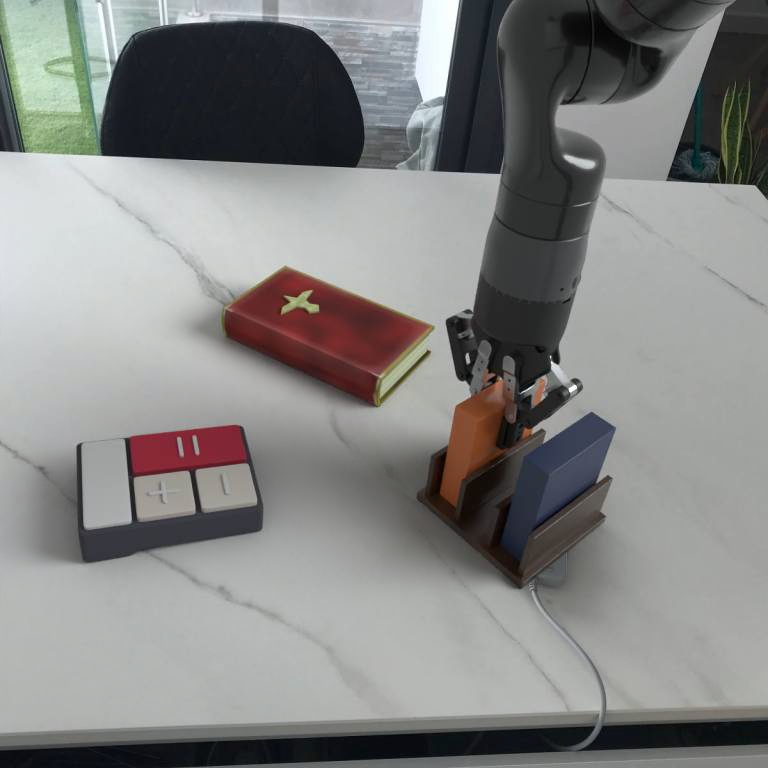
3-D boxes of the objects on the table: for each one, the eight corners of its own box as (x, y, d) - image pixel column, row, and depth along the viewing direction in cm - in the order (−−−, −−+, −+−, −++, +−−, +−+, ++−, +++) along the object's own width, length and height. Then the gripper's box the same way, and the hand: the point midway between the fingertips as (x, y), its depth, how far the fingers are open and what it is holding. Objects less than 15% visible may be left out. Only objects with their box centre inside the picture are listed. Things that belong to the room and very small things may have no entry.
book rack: (604, 521, 72) (621, 479, 69) (521, 589, 66) (535, 545, 62) (500, 444, 79) (511, 401, 76) (416, 498, 73) (423, 454, 69)
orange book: (522, 467, 76) (546, 381, 69) (459, 510, 71) (477, 422, 64) (502, 452, 77) (524, 366, 70) (439, 494, 72) (455, 405, 65)
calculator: (264, 502, 66) (76, 529, 61) (263, 535, 69) (82, 564, 64) (243, 418, 74) (74, 436, 69) (242, 450, 77) (80, 470, 72)
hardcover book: (376, 409, 82) (379, 378, 79) (222, 337, 90) (220, 307, 87) (430, 353, 90) (435, 324, 88) (285, 292, 98) (285, 263, 95)
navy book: (584, 514, 72) (616, 427, 65) (521, 563, 67) (549, 475, 60) (562, 498, 73) (591, 411, 66) (499, 544, 68) (523, 456, 61)
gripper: (431, 246, 61) (409, 410, 72) (572, 331, 53) (524, 500, 64) (495, 221, 65) (465, 380, 76) (634, 296, 58) (579, 461, 68)
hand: (492, 434), depth 70 cm, fingers closed on orange book, 2 cm apart
